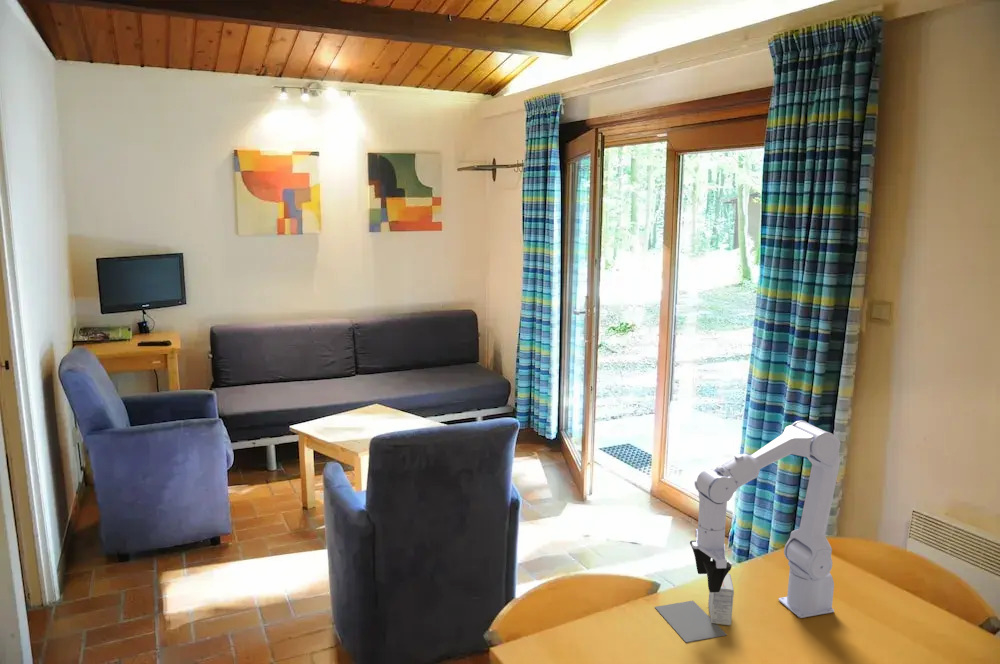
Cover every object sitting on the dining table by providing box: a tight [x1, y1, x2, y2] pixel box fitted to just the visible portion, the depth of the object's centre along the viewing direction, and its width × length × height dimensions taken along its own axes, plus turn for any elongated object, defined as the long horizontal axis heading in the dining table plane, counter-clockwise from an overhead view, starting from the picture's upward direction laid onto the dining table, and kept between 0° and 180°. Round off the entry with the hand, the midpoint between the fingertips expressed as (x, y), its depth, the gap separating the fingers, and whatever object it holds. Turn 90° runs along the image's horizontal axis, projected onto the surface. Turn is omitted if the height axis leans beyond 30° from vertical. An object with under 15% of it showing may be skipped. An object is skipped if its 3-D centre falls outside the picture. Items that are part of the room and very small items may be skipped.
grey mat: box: [654, 600, 728, 644], centre depth 165 cm, size 10×14×1 cm
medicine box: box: [707, 572, 735, 626], centre depth 166 cm, size 8×4×9 cm, turn 168°
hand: (708, 582), depth 162 cm, fingers open, 7 cm apart
